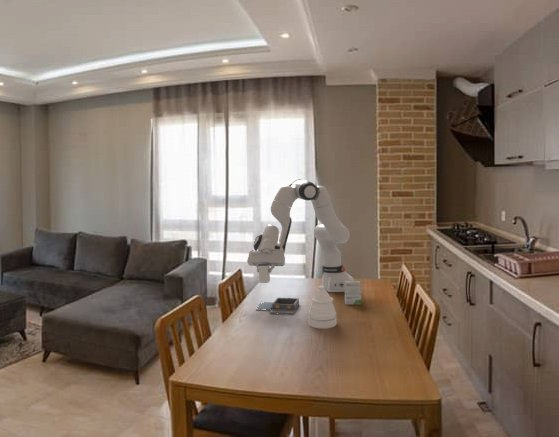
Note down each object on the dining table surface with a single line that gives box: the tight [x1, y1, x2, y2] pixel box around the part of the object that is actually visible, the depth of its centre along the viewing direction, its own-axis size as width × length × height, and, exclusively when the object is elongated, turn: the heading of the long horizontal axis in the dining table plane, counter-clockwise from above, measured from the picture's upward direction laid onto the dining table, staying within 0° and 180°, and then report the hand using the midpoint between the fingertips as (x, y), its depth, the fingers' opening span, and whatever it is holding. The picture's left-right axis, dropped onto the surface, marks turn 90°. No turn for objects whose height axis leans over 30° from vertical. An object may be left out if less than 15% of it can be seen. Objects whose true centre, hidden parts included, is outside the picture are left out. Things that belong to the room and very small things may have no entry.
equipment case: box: [269, 297, 300, 316], centre depth 219 cm, size 12×17×4 cm
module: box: [258, 262, 271, 284], centre depth 222 cm, size 5×5×10 cm
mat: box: [256, 301, 274, 311], centre depth 224 cm, size 8×12×1 cm, turn 167°
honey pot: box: [308, 285, 338, 329], centre depth 195 cm, size 13×13×18 cm
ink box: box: [344, 280, 362, 306], centre depth 225 cm, size 9×5×12 cm, turn 84°
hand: (264, 271), depth 222 cm, fingers closed on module, 5 cm apart
